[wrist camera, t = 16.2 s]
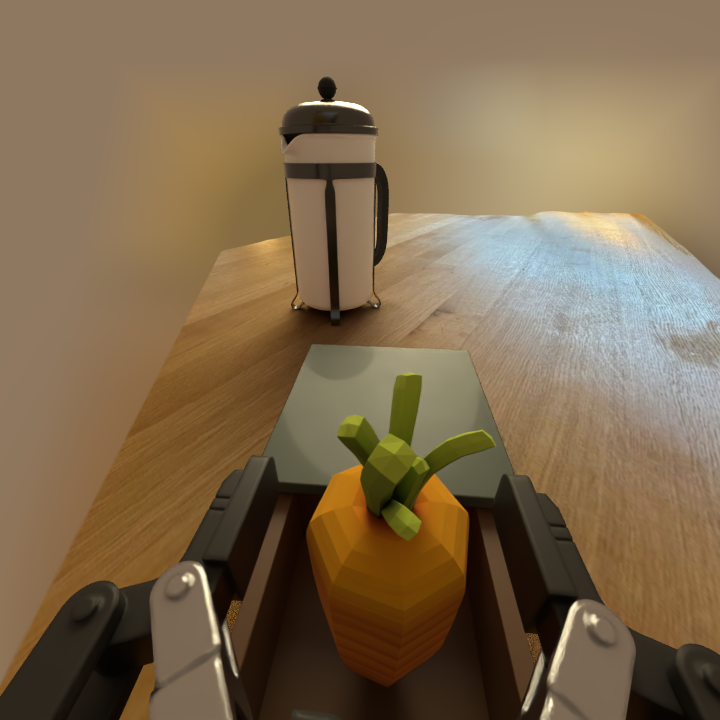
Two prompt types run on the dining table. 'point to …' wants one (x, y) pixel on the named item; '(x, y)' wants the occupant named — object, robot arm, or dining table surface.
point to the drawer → (352, 691)
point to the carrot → (391, 543)
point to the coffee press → (334, 201)
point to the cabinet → (384, 416)
